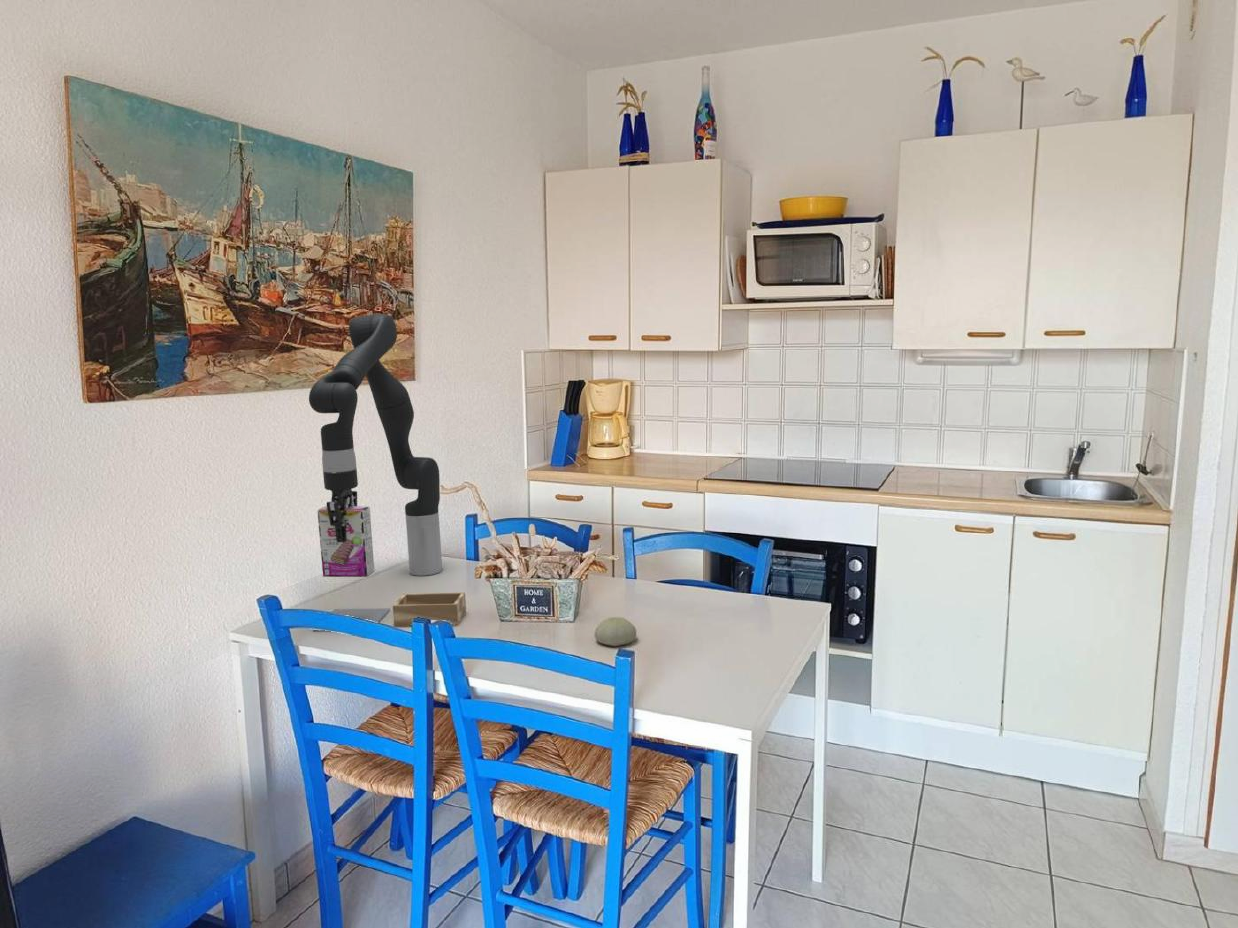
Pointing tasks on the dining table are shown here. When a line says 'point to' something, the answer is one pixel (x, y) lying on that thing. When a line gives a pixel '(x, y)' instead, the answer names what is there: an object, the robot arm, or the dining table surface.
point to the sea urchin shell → (615, 631)
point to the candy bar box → (347, 544)
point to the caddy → (429, 607)
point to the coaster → (364, 613)
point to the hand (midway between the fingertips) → (345, 538)
